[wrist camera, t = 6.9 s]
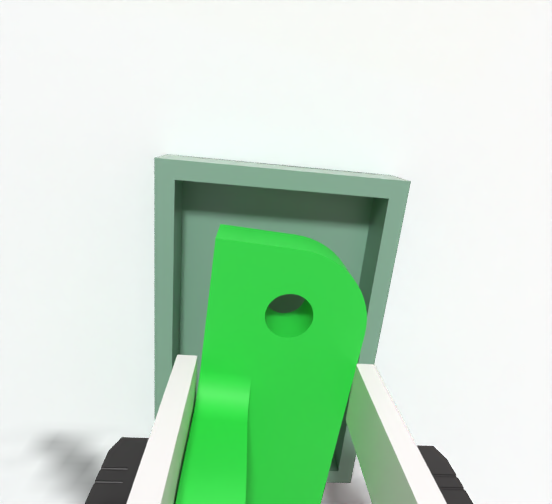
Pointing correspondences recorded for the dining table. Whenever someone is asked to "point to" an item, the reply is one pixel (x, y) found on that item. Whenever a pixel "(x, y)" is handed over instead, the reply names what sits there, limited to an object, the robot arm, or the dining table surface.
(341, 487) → the dining table surface
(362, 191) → the tray
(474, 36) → the dining table surface
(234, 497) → the mechanical part
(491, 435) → the dining table surface
